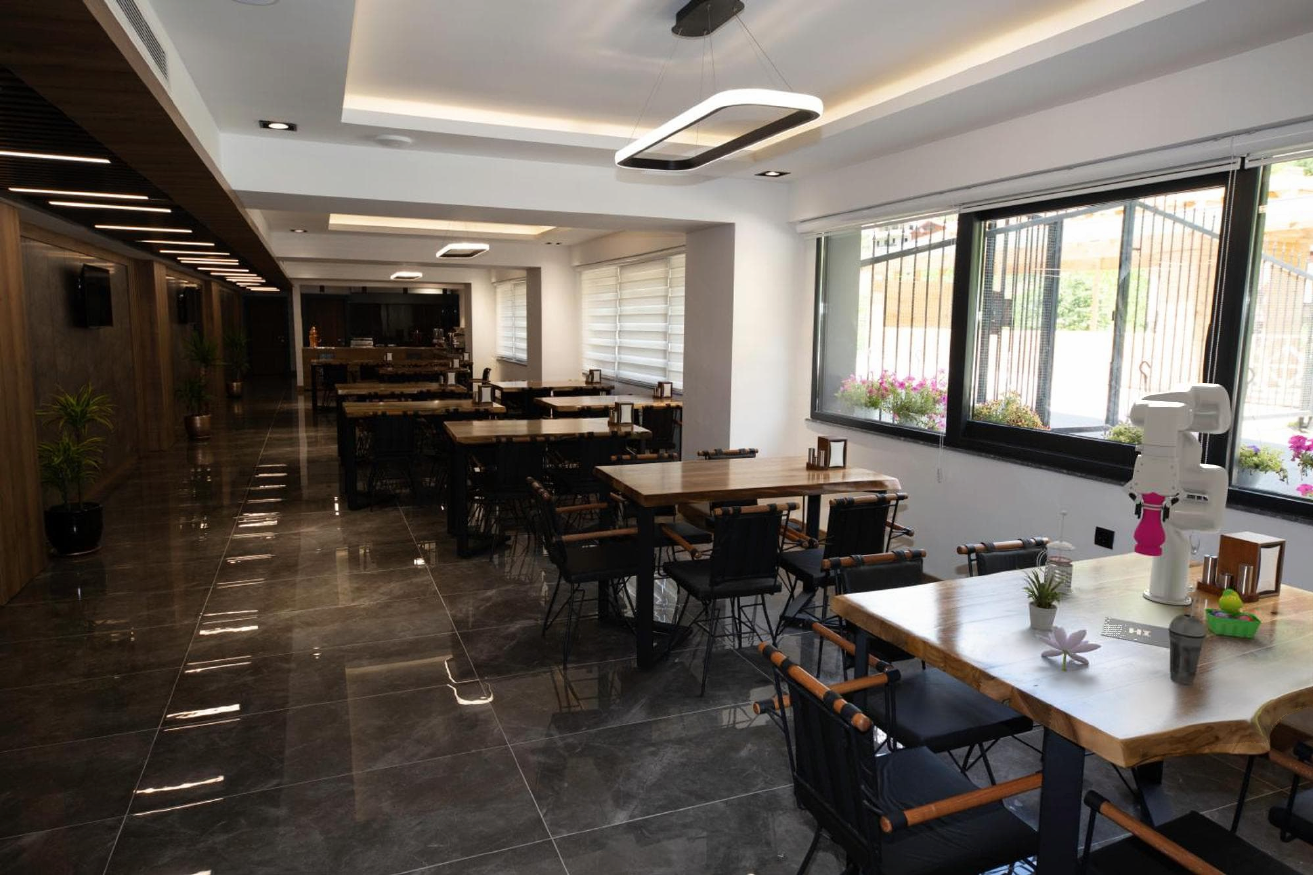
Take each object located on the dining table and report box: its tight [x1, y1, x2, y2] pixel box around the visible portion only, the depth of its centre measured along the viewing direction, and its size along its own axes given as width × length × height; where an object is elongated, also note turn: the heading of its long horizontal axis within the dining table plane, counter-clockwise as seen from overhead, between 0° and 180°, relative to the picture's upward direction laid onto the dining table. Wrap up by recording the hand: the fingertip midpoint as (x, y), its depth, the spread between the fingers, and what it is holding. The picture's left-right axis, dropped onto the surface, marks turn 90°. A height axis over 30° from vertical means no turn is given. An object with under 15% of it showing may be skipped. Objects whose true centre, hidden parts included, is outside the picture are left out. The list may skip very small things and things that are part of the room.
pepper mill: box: [1133, 492, 1166, 557], centre depth 213 cm, size 7×7×20 cm
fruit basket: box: [1204, 588, 1262, 639], centre depth 219 cm, size 11×9×11 cm
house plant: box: [1016, 567, 1071, 631], centre depth 219 cm, size 14×14×16 cm
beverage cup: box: [1168, 595, 1207, 685], centre depth 185 cm, size 7×7×20 cm
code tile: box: [1100, 616, 1170, 649], centre depth 217 cm, size 17×17×1 cm
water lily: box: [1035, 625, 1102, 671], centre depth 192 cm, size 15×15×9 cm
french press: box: [1036, 510, 1076, 594], centre depth 253 cm, size 10×12×25 cm
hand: (1151, 518), depth 213 cm, fingers closed on pepper mill, 5 cm apart
